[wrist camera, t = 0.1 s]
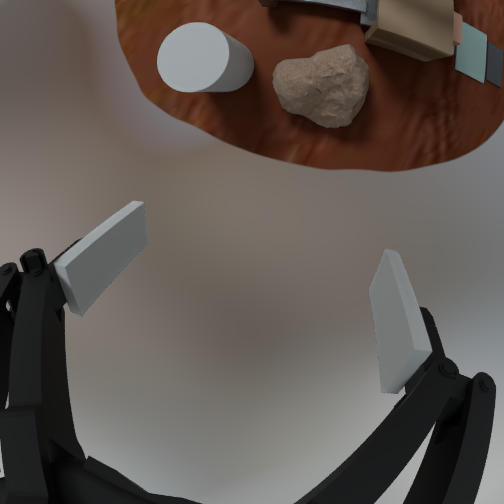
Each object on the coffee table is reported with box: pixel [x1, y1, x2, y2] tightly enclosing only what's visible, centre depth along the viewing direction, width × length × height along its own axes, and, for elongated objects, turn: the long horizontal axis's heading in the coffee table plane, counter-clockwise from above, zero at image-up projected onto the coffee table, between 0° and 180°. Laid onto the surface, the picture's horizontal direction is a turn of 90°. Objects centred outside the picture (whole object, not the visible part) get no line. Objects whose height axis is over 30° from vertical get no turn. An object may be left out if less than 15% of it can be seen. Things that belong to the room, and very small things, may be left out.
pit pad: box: [486, 41, 503, 88], centre depth 22 cm, size 7×3×1 cm, turn 174°
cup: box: [157, 22, 254, 92], centre depth 28 cm, size 8×8×12 cm
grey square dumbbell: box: [258, 0, 454, 55], centre depth 22 cm, size 6×26×5 cm, turn 84°
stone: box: [272, 44, 369, 128], centre depth 30 cm, size 12×9×10 cm
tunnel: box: [364, 0, 454, 62], centre depth 20 cm, size 11×9×9 cm
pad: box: [455, 22, 487, 84], centre depth 22 cm, size 9×6×1 cm, turn 175°
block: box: [453, 12, 462, 46], centre depth 20 cm, size 5×5×5 cm
